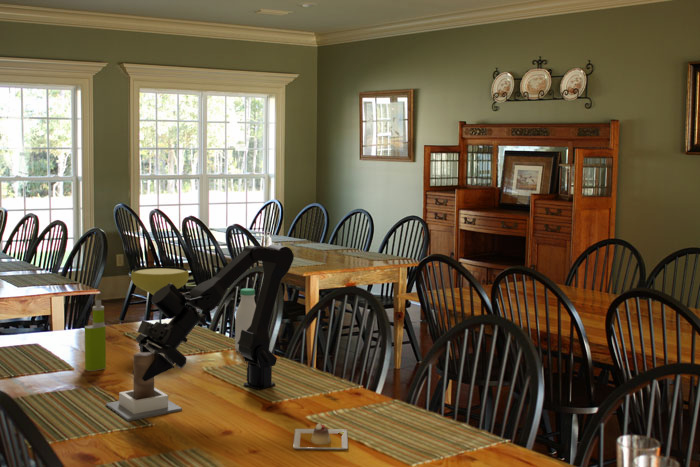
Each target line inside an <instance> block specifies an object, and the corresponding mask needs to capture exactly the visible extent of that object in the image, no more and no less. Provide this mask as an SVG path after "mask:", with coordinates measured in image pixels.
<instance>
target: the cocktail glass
mask: <svg viewBox="0 0 700 467" xmlns="http://www.w3.org/2000/svg"><path fill="white" fill-rule="evenodd" d="M189 277H190V276H189V269H187V268H184V267H180V266H167V265H164V266H163V265H160V266H159V265H158V266H157V265H155V266H143V267H137V268H135V269H132V271H131V275H130V278H131V282H132V284H134V286H136V287H137V288H138V289H140V290H142V291H145V292H147V293H149V294H151V295H152V296H153V295H154V294H155V292H156V291H158V290H160V289H161V288H163V287H165V286H167V285H168V283H171V284H173V285H174V286H175V287H176V288H177V290H178V289H181V288H182V287H183V286H185V285H186V284H187V283H188V281H189ZM158 310H159V309H158ZM158 317H159V318H158V319H159V321H158V322H159V323H162V312H161V311H160V310H159V312H158Z"/></svg>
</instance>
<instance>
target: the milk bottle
mask: <svg viewBox="0 0 700 467" xmlns="http://www.w3.org/2000/svg"><path fill="white" fill-rule="evenodd" d="M255 294H256V289H255V288H241V289H240V302H239V303H238V304H239V305H238V307H237V309H236V311H235V312H236V313H235V322H234V323H235V326H234V328H235V329H234V330H235V332H234V333H235V334H234V346H235V347H234V348H235V352H239V353H240V351H239V344H237V343H238V341H239V339H240V335H241V331H242V330H245V331H246V330H247V329H248V328H249V327H250V326H251V323H252V319H253V316H254V312H255V308H256V305H257V303H256V301H255V296H256V295H255Z"/></svg>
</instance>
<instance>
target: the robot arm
mask: <svg viewBox="0 0 700 467" xmlns="http://www.w3.org/2000/svg"><path fill="white" fill-rule="evenodd" d="M294 257H295V255H294V252H293V250H292V249H291V248H290V247H288V246H284V245H279V244H270V245H269V246H266V247H265V246H255V245H250V244H249V245H246V246H245V247H244V248H243V249H242V250H241V252H239V253H238V254H237V255H236V256H235V257H234V258H232V260H231V261H230V262H228V263H227V265H225V266H224V267H223V268H222V269H221V270H220V271H218V273H216V274H215V275H214V276H213V277H211V278H209V279H207V280H205V281H202V282H200V283H199V284H197V285H196V286H195V287H193V288H192V289H191V290H190V291H187V292H184V293H182V292H181V291H180V290H178V289H177V288H176V287H175V286H174V285H173V284H171V283H168V285H167V286H165V287H163V288H161V289H160V290H158V291H156V292H155V294H154V295H152V297H151V300H150V301H151V303H152V304H153V305H154V306H155V307H156V308H157V309H158V310H160V311H161V314H162V313H163V315H164V316H165V317H167V318H170V317H172V319H171V320H170V321H169V322H168V323H167V322H163V323H162V322H161V323H159V321H155V323H152V322H149V321H146V320H144V319H141V322H140V324H139V327H138V330H137V333H139V335H138V336H136V338H135V341H136V342H137V343H138V346H139V353H140V352H151V353H154V361H153V362H152V364H151V365H150V366H149V368H148V369H147V371H146V372H145V374H144V376H143V377H142V380H144V381H147V380H149V379H151V378H153V377H154V378H155V377H157V376H158V375H160V374H163V373H164V372H167V371H170V370H171V369H175V368H176V367H177V368H179V369H183V368H184V367H185V365H186V364H187V357H186V356H185V355H184V354H183V353H182V352H181V351H180V350H178V348H179V346H180V345H181V344H182V343H187V342H188V341H189V339H188V338H187V337H188V336H189V335H190V334H191V332H192V331H193V329H195V327H196V326H197V325H199V324H200V325H201V326H207V320H206V319H207V315H206V314H204V313H199V311H197V310H200V311H203V312H212V311H213V310H215V309H216V307H217V306H219V303H221V301H222V300H223V298H224V295H225V293H226V291H228V289H229V288H230V287H231V286H232V285H233V284H234V283H235V282H237V280H239V279H240V278H241V276H243V275H244V274H245V273H246V272H247V271H248V270H249V269H250V268H252V267H253V266H254V265H255V264H256V263H257V262H262V268H263V269H262V270H263V280H262V282H261V286H260V290H259V293H258V297H257V302H256V308H255V312H254V316H253V319H252V323H251V326H250V327H249V328H248V329H247V330H246V331H245V330H242V331H241V335H240V339H239V341H238V343H237V344H239V351H240V352H239V353H240V355H241V356H243V360H244V362H245V363H246V362H247V367H246V382H243V386H244V387H245V386H246V387H249V388H252V389H255V390H258V391H259V390H263V389H266V388H270V387H273V386H276V382H273V381H272V375H273V374H272V372H273V371H272V370H273V369H272V368H273V367H274V366H276V363H277V361H278V358H277V357H276V355H274V353H272V351H270V343H271V339H270V334H269V333H270V332H269V328H270V323H271V321H272V317H273V312H274V309H275V305H276V302H277V298H278V294H279V291H280V287H281V283H282V280H283V278H284V277H285V276H286V275H287V273H288V272H289V271H290V269H291V267H292V264H293V261H294ZM187 305H190V306H191V307H188V306H187ZM175 366H176V367H175ZM131 374H132V375H133V376H134V368H132V372H131Z"/></svg>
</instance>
